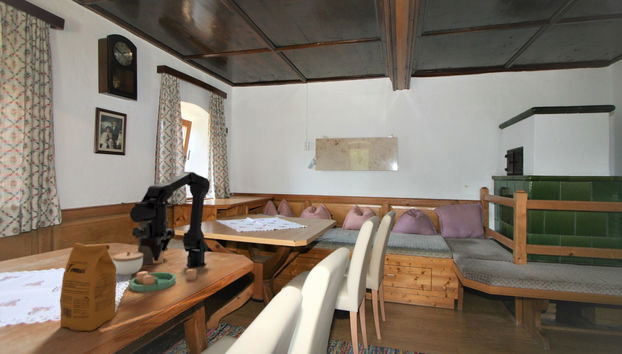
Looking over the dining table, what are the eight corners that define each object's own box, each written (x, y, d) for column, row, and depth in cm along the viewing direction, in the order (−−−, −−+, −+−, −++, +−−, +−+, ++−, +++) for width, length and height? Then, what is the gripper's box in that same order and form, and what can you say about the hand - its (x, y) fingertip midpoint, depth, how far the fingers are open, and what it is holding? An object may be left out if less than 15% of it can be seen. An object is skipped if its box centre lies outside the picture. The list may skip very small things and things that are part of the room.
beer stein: (149, 265, 136) (152, 220, 138) (130, 263, 139) (133, 219, 141) (173, 259, 151) (176, 218, 152) (156, 257, 154) (158, 217, 155)
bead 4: (193, 278, 122) (193, 268, 121) (197, 280, 119) (198, 270, 119) (184, 280, 119) (184, 270, 119) (189, 282, 116) (189, 272, 116)
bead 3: (155, 260, 118) (155, 250, 118) (164, 260, 119) (165, 250, 119) (151, 263, 115) (151, 252, 115) (161, 263, 115) (161, 252, 115)
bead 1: (145, 281, 115) (145, 270, 115) (149, 283, 113) (149, 272, 113) (135, 283, 112) (135, 273, 112) (139, 286, 110) (139, 275, 110)
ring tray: (164, 276, 123) (164, 269, 123) (183, 285, 114) (183, 278, 114) (123, 286, 112) (123, 279, 112) (140, 297, 102) (140, 289, 102)
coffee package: (88, 312, 91) (88, 238, 91) (121, 317, 88) (122, 241, 88) (52, 328, 82) (52, 245, 81) (88, 335, 78) (88, 249, 78)
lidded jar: (129, 279, 119) (129, 255, 119) (106, 277, 121) (106, 253, 121) (149, 271, 130) (149, 249, 130) (127, 269, 132) (127, 247, 132)
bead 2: (151, 285, 111) (152, 274, 111) (156, 287, 109) (156, 276, 109) (141, 287, 109) (141, 276, 109) (145, 290, 106) (145, 278, 106)
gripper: (147, 215, 125) (146, 253, 125) (123, 222, 107) (123, 267, 107) (175, 215, 126) (175, 252, 126) (156, 222, 108) (156, 266, 108)
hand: (158, 259), depth 117 cm, fingers closed on bead 3, 4 cm apart
